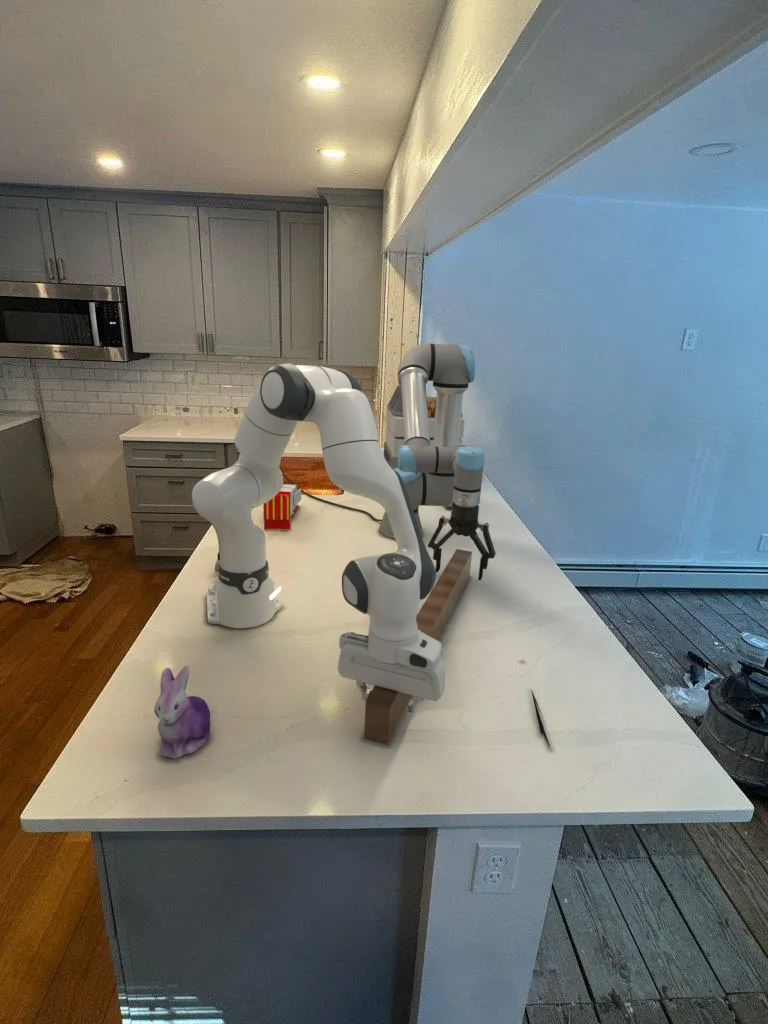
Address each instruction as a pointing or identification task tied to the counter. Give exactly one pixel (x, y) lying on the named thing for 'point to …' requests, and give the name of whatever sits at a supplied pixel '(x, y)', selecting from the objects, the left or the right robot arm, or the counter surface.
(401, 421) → the transformer
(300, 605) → the counter surface
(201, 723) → the figurine
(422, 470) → the right robot arm
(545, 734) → the feather
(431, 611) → the bar
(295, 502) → the toy
